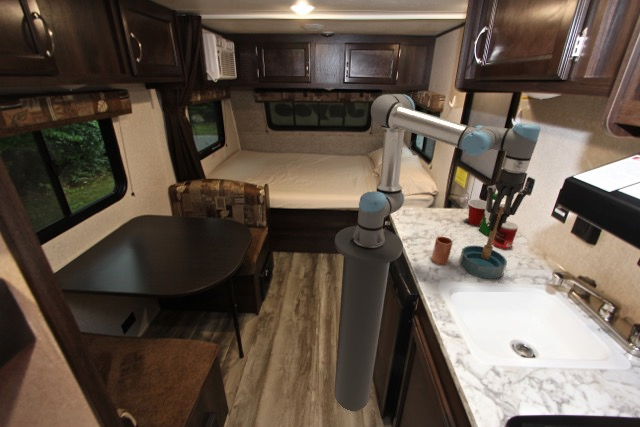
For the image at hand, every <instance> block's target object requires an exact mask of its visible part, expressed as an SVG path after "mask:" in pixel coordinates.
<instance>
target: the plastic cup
mask: <svg viewBox="0 0 640 427" xmlns="http://www.w3.org/2000/svg"><path fill="white" fill-rule="evenodd" d="M467 204H468V220H467V221H468V222H467V223H468V224H469V225H472V226H480V225H481V223H482V219H483V216H484V213H485V209H486V204H487V200H483V199H476V198H475V199H473V198H472V199H469V200H468V201H467Z"/></svg>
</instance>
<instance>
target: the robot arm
mask: <svg viewBox="0 0 640 427" xmlns="http://www.w3.org/2000/svg"><path fill="white" fill-rule="evenodd" d="M370 115H371V118H372V120H373V122H375V123H376V124H378V125H380V128H381V129H382V130H383V142H382V155H381V168H380V182H379V183H378V184H377V185H376V190H375V191H366V192H364V193H363V194H361V196H360V198H359V202H358V212H357V224H356V226H357V227H356V230H355V232H354V234H353V238H352V239H351V240H350V242H352V241H353V243H354V244H355V245H357V246H359V247H361V248H364V249H378V248H381V247H383V246H384V244H385V237H384V232H385V230H386V229H385V228H384V220H385V218H386V217H388V216H390V215H391V214H393V213H394V214H395V213H396V212H398V211H399V210H400V209H401V208H402V207H403V205H404V203H405V193H403V187H402V186H401V185H400V177H401V176H400V175H401V167H402V166H401V165H402V156H403V147H404V137H405V132H406V131H407V132H409V133H413V134H416V135H418V136H421V137H425V138H427V139H430V140H433V141H436V142H439V143H442V144H445V145H448V146H451V147H454V148H457V149H459V150H461V151H463V153H465V154H466V155H468V156H471V157H475V156H480V155H483V154H485V153H486V152H488V151H490V150H494V151H501V152H505V155H504V158H503V161H502V164H501V168H500V171H499V174H498V177H497V180H496V182H495V183H494V185H487V186H486V190H487V197H486V202H487V204H486V210H487V211H488V213H490V216H489V221H490V225H489V229H490V231H493V229H494V226H495V223H496V220H497V217H498V215H497V214H496V213H497V211H498V208H499V206H500V204H501V201H502V199H504V198H505V200H506V201H505V206H504V210H503V214H502V216H501V219H500V222H499V225H498V228H497V232H500V230H501V227H502V224H503V223H504V224H505V223H506V221H508V218H510V216H515V215H516V213H517V212H518V210H519V207H520V206H521V204H522V203H523V200H524V199H525V197H526V196H527V195H528V194H529V191H528V190H527V189H525V188H523V183H524V180H525V177H526V172H527V171H528V168H529V165H530V163H531V160H532V156H533V155H534V152H535V148H536V146H537V143H538V141H539V136H540V132H541V127H540V126H539V125H537V124H533V123H524V122H523V123H522V122H517V123H515V124H514V125H513V127H512V128H505V127H499V126H492V125H491V126H490V125H476V126H475V127H472V126H469V125H466V124H463V123H459V122H456V121H453V120H449V119H445V118H442V117H439V116H436V115H433V114H430V113H429V114H428V113H425V112H422V111H418V110H416V106H415V103H414V100H413V99H412V98H411V97H410V96H409V95H406V94H402V93H393V94H382V95H379V96H378V97H377V98H375V100H373V102H372V104H371V107H370ZM496 191H497V193H496V194H497V197H496V199H495V201H494V204H493V206H492V203H493V195H494V194H495V193H494V192H496ZM517 193H518V194H517ZM515 195H516V197H515ZM514 197H515V198H514ZM513 200H514V201H513ZM383 231H384V232H383Z"/></svg>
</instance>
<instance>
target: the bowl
mask: <svg viewBox="0 0 640 427" xmlns="http://www.w3.org/2000/svg"><path fill="white" fill-rule="evenodd" d="M483 248H484V246H483V245H482V246H481V245H468V246H464V247H463V248H462V249H461V253H460V257H459V260H458V262H459V265H460V266H461V268H463V269H464V270H465V271H466V272H468V273H470V274H472V275H474V276H477V277H479V278H484V279H485V278H486V279H498V278H501V277H502V276H503V275H504V272H505V270H506V267H507V264H508V261H507V259H506V257H505V256H504V255H502V254H501V253H500V252H498V251H496V250H495V249H492V252H491V255H490V258H489V259H484V258H482V257H481V254H482V251H483Z"/></svg>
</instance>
